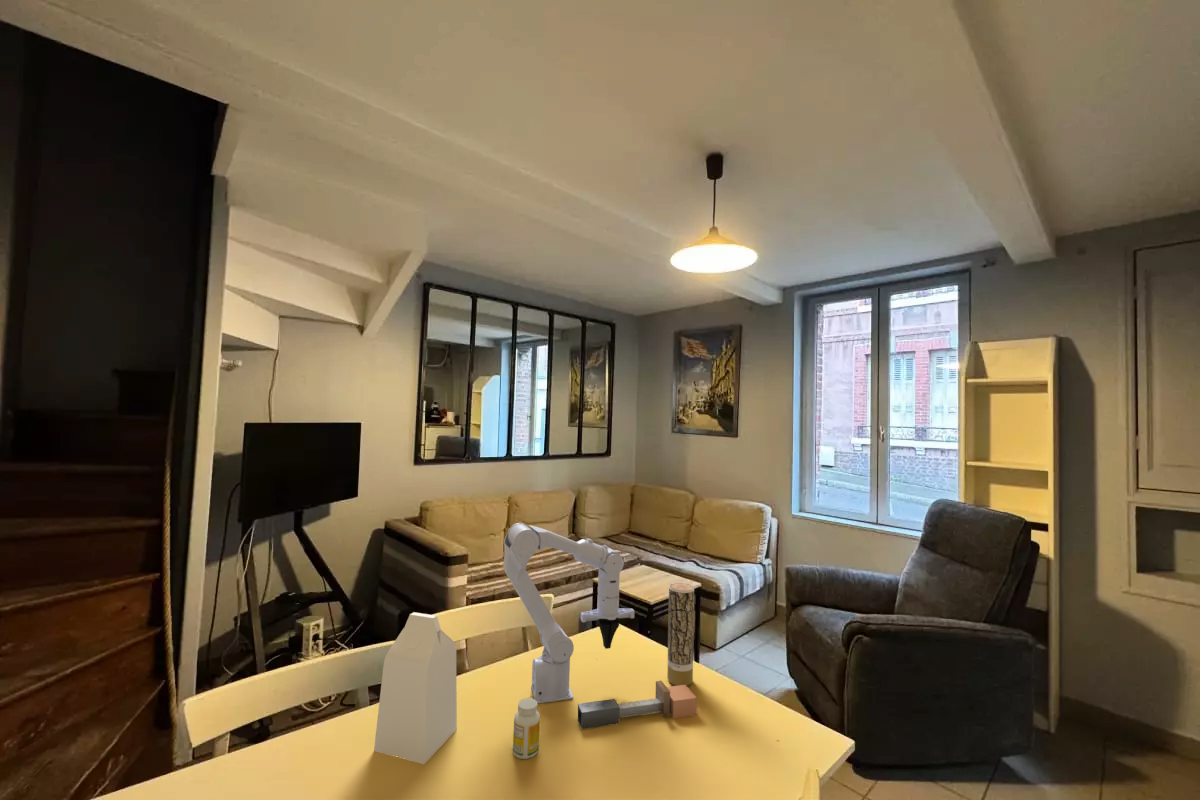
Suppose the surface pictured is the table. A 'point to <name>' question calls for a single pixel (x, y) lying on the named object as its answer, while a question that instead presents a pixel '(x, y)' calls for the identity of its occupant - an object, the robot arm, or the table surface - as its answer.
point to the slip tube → (649, 703)
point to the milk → (417, 691)
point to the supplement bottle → (526, 729)
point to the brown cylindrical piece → (680, 634)
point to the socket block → (682, 701)
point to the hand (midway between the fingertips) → (606, 646)
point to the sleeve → (598, 713)
